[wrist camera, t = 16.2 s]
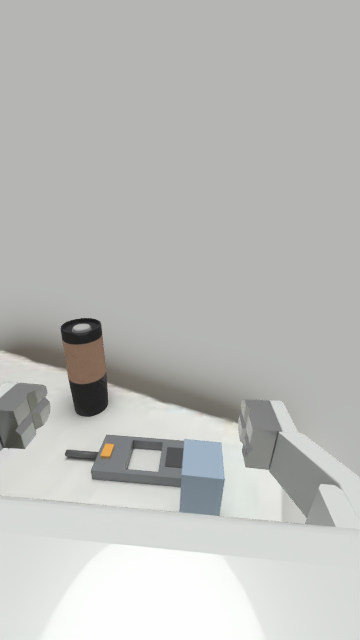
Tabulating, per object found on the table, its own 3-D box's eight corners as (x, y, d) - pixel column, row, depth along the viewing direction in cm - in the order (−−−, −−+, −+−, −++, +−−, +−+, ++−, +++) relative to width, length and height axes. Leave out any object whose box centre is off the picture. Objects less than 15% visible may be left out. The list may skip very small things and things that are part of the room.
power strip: (56, 475, 39) (54, 465, 38) (76, 440, 45) (74, 430, 44) (215, 489, 38) (216, 479, 37) (212, 451, 44) (213, 441, 43)
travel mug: (89, 390, 59) (79, 315, 51) (115, 399, 56) (109, 321, 49) (66, 411, 52) (50, 328, 45) (94, 421, 50) (82, 336, 42)
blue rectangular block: (177, 548, 31) (181, 474, 25) (180, 508, 35) (184, 438, 30) (213, 553, 30) (224, 479, 25) (211, 512, 35) (221, 441, 30)
